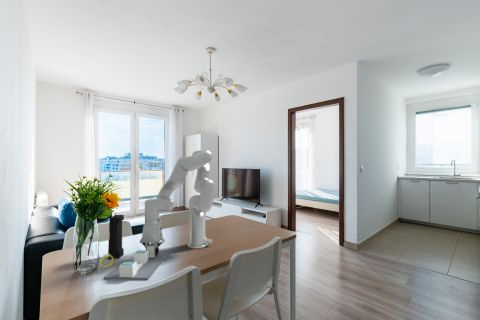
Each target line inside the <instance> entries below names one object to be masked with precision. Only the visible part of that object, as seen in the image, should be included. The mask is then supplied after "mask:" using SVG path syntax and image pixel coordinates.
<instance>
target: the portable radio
mask: <svg viewBox="0 0 480 320" xmlns="http://www.w3.org/2000/svg"><path fill="white" fill-rule="evenodd" d="M114 214H115V215H112V216H110V217H109V219H108V220H109V221H108V223H109V224H108V225H109V227H108V231H109V232H108V233H109V239H108V244H107V245H108V246H107V254H110V255H111V256H112V257H113V258H114V260H117V259H118V260H119V259H120V258H121V257H122V256H124V254H125V253H124V251H125V249H124V248H123V220H125V215H124V214H117V212H114ZM111 256H109V257H107V259H108V260H112V257H111Z"/></svg>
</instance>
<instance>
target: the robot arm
mask: <svg viewBox="0 0 480 320" xmlns="http://www.w3.org/2000/svg"><path fill="white" fill-rule="evenodd" d="M212 161H213V154H212V152H210V150H208V149H207V150H206V149H202V150H201V149H200V150H195V151H193V152H192V153H191V155H190V156H182V157H179V158H178V159H177V161H176V163H175V164H174V167H173V168H172V169H173V170H172V172H171V173H170V176H169V177H168V179H167V181H165V182H164V184H163V185H162V187H161V188H160V190H159V192H158V193H157V196H156V198H149V199H146V200H145V201H144V224H143V227H142V233H141V235H142V236H141V239H140V241H139V243H140V244H141V245H142V246H144V248H145V250H147V246H148V245H149V244H150V243H155V246H156V248H155V255H156V256H157V255H158V254H159V252H160V250H159V249H160V247H161V245H163V244H164V243H165V242H166V240H165V238H164V236H163V228H162V223H161V222H162V220H163V219H161V218H160V213H161V212H164V213H165V212H170V211H172V210H173V209H174V207H175V201H174V200H173V199H171V195H172V194H173V193H174V192H175V190H177V189H178V188H179V187H181V186H182V185H183V184H184V182H185V179H186V177H187V175H188V173H189V172H193V171H195V170H196V176H195V181H194V185H193V186H194V187H193V188H194V191H195V192H197V193H198V194H194V195H192V196H191V197H190V198H189V200H188V209H189V242H187V243H186V244H187V247H188V248H190V249H202V248H205V247H207V246H208V244H212V243H213V240H212V239H211V238H207V236H206V213H208V212H210V211H211V209H212V207H213V203H214V199H215V196H216V195H215V194H216V183H215V182H214V181H213V180H212V179H210V178H211V166H210V163H211V162H212Z"/></svg>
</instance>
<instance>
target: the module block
mask: <svg viewBox="0 0 480 320" xmlns="http://www.w3.org/2000/svg"><path fill="white" fill-rule="evenodd" d="M155 248H156V246H155V243H149V245H148V246H147V251H149V259H153V258H155V257H156V256H157V255H155Z"/></svg>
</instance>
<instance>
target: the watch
mask: <svg viewBox="0 0 480 320" xmlns="http://www.w3.org/2000/svg"><path fill="white" fill-rule="evenodd" d="M109 256H111V255H110V254H108V253H106V254H103V257H101V259H100V261H99V265H100V267H101V268H104V269H105V268H107V267H110V266H112V265H113V263H114V260H115V259H114V258H113V257H112V256H111V257H112V259H111V261H110V263H109V264H108V265H104V266H103V261H104V259H105V258H108V257H109Z"/></svg>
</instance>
